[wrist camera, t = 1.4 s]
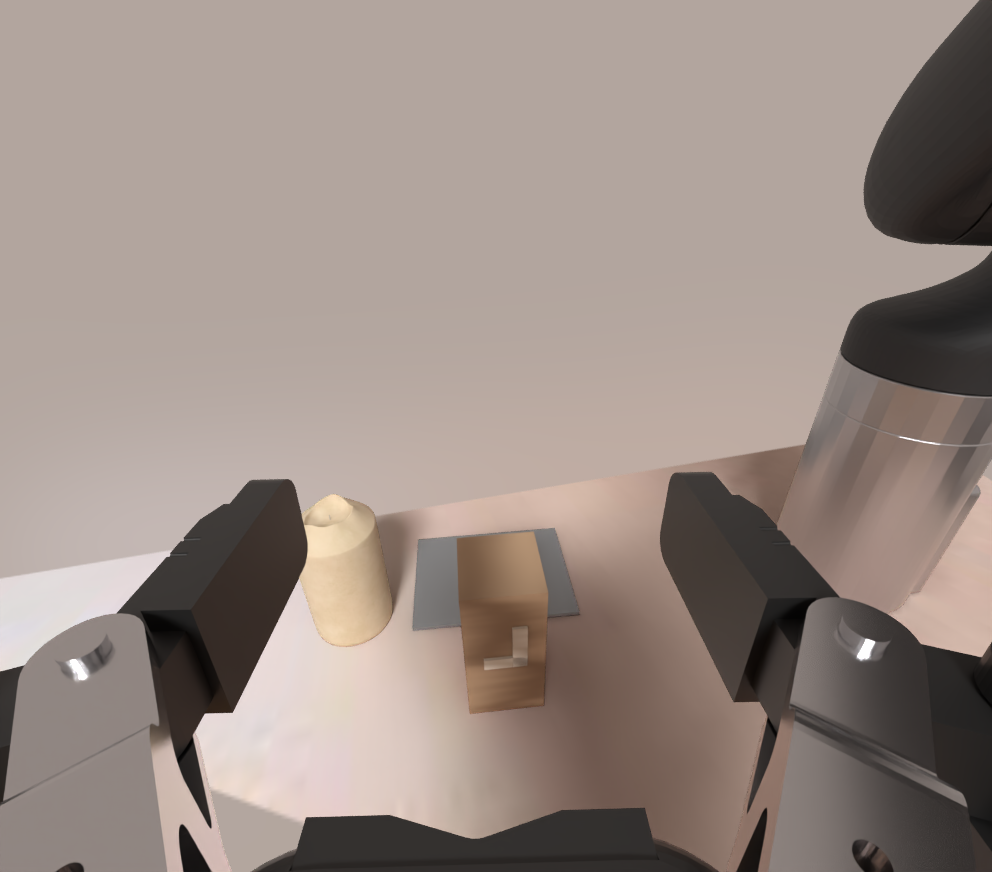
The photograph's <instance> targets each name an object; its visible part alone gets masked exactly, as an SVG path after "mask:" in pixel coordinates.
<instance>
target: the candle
mask: <svg viewBox="0 0 992 872" xmlns="http://www.w3.org/2000/svg"><path fill="white" fill-rule="evenodd" d="M302 519H303V523H304V527H305V531H306V536H307V542H308V552H307V559H306V564H305V567H304V569H303V571H302V573H301V575H300V577H299V579H300V582H301V585H302V587H303V590H304V593H305V596H306V599H307V602H308V605H309V608H310V611H311V614H312V617H313V620H314V623H315V626H316V628H317V631H318V633H319V634H320V636H321V637H322V638H323V639H324V640H325V641H326V642H328V643H330V644H332V645H335V646H340V647H349V646H355V645H359V644H362V643H364V642H367V641H369V640H370V639H372V638H374V637H375V636H376V635H378V634H379V633H380V632H381V631H382V630H383V629H384V628H385V626H386V625H387V623H388V622H389V620H390V617H391V614H392V598H391V592H390V588H389V583H388V578H387V573H386V568H385V563H384V558H383V553H382V548H381V543H380V538H379V533H378V528H377V523H376V519H375V515H374V512H373V511H372V510H371V509H370V508H369V507H368V506H366V505H365V504H362V503H360V502H357V501H354V500H350V499H347V498H343V497H341V496H339V495H335V494H332V495H329V496H327V497H325V498H323V499H321V500H320V501H319V502H317V503H316V504H315V505H313V506H312V507H310V508H309V509H307V510H306V511H305V512H303V513H302Z"/></svg>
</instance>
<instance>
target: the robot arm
mask: <svg viewBox="0 0 992 872" xmlns="http://www.w3.org/2000/svg"><path fill="white" fill-rule="evenodd" d="M864 205H865V209H866V212H867V216H868V218H869V219H870V221H871V222H872V224H873V225H874V227H875V228H876V229H878V230H879V231H881V232H882V233H883V234H885V235H887V236H890V237H893V238H897V239H901V240H904V241H908V242H914V243H921V244H946V245H977V246H992V0H979V2H978V3H977V4H976V5H975V6H974V7H973V8H972V9H971V10H970V12H969V13H968V14H967V15H966V16H965V17H964V18H963V20H962V21H961V22H960V23H959V24H958V25H957V27H956V28H955V29H954V30H953V31H952V33H951V34H950V35H949V36H948V37H947V38H946V39H945V41H944V42H943V43H942V44H941V45H940V47H939V48H938V49H937V50H936V51H935V53H934V54H933V55H932V56H931V57H930V59H929V60H928V61H927V62H926V63H925V65H924V66H923V67H922V69H921V70H920V71H919V73H918V74H917V75H916V77H915V78H914V80H913V81H912V83H911V84H910V86H909V87H908V88H907V90H906V91H905V93H904V94H903V96H902V97H901V99H900V101H899V102H898V104H897V105H896V107H895V109H894V111H893V112H892V114H891V116H890V117H889V119H888V121H887V122H886V124H885V127H884V128H883V130H882V132H881V135H880V137H879V139H878V141H877V143H876V146H875V148H874V151H873V153H872V156H871V159H870V162H869V165H868V168H867V172H866V176H865V182H864ZM991 460H992V251H991V253H990V254H989V255H988V256H987V257H986V258H985V260H983V261H982V262H981V263H980V264H979V265H978V266H976V267H975V268H973V269H971V270H969V271H968V272H966V273H964V274H962V275H959V276H957V277H955V278H953V279H951V280H948V281H946V282H943V283H941V284H938V285H935V286H932V287H929V288H926V289H922V290H919V291H915V292H911V293H907V294H902V295H898V296H894V297H890V298H885V299H881V300H878V301H875V302H872V303H870V304H867V305H866V306H864V307H862V308H861V309H860V310H859V311H857V313H856V314H855V315H854V316H853V318H852V320H851V321H850V324H849V326H848V328H847V331H846V334H845V336H844V339H843V342H842V345H841V348H840V350H839V353H838V356H837V358H836V361H835V364H834V367H833V369H832V373H831V375H830V378H829V381H828V384H827V386H826V389H825V392H824V395H823V398H822V401H821V403H820V406H819V409H818V412H817V414H816V417H815V420H814V423H813V426H812V428H811V431H810V434H809V437H808V439H807V442H806V445H805V448H804V450H803V453H802V456H801V459H800V462H799V464H798V467H797V470H796V473H795V475H794V478H793V481H792V484H791V486H790V489H789V492H788V495H787V498H786V500H785V503H784V506H783V508H782V511H781V514H780V517H779V520H778V523H777V526H776V524H775V523H774V522H773V521H772V520H771V519H770V518H769V517H768V515H767V514H766V513H765V512H764V511H763V510H762V509H761V508H759V507H757V506H756V505H754V504H753V503H751V502H749V501H748V500H746V499H745V498H743V497H742V496H740V495H732V494H731V493H730V492H729V491H728V490H727V488H726V487H725V486H724V485H723V484H722V482H721V481H720V480H719V479H718V478H717V476H716V475H715V474H714V473H712V472H687V473H674V474H673V475H672V477H671V479H670V482H669V487H668V493H667V498H666V504H665V509H664V515H663V521H662V526H661V532H660V545H661V552H662V556H663V559H664V562H665V564H666V566H667V568H668V570H669V572H670V574H671V576H672V578H673V580H674V582H675V584H676V586H677V588H678V590H679V592H680V594H681V596H682V598H683V600H684V602H685V604H686V606H687V608H688V611H689V613H690V615H691V617H692V619H693V621H694V623H695V625H696V627H697V629H698V631H699V633H700V635H701V637H702V639H703V641H704V643H705V645H706V647H707V649H708V651H709V653H710V655H711V657H712V659H713V661H714V663H715V665H716V667H717V669H718V671H719V673H720V675H721V677H722V680H723V682H724V684H725V686H726V688H727V690H728V692H729V694H730V696H731V698H732V700H733V702H760V703H761V705H762V707H763V708H764V710H765V712H766V714H767V716H766V719H765V721H764V724H763V727H762V731H761V735H760V739H759V744H758V748H757V752H756V757H755V761H754V765H753V770H752V774H751V778H750V783H749V787H748V791H747V796H746V800H745V804H744V809H743V813H742V817H741V822H740V826H739V830H738V833H737V837H736V840H735V844H734V847H733V850H732V853H731V856H730V859H729V863H728V866H727V869H726V872H992V643H991V644H990V646H989V647H988V649H987V650H986V652H985V653H984V655H983V656H982V657H977V656H973V655H968V654H963V653H959V652H954V651H950V650H945V649H941V648H936V647H931V646H927V645H922V644H920V643H919V641H918V640H917V638H916V637H915V636H914V635H913V634H912V633H911V632H910V631H909V630H908V629H907V628H906V627H905V626H903V625H902V624H901V623H900V622H898V621H897V620H895V619H894V618H892V617H891V616H889V615H888V614H886V613H889V612H892V611H895V610H897V609H898V608H899V607H901V606H902V605H903V604H904V603H905V601H906V599H907V598H908V596H909V594H910V593H916V592H920V591H921V589H922V588H923V586H924V585H925V583H926V581H927V580H928V578H929V577H930V575H931V573H932V572H933V570H934V568H935V567H936V565H937V564H938V562H939V560H940V559H941V557H942V556H943V554H944V552H945V551H946V549H947V548H948V546H949V544H950V543H951V541H952V539H953V538H954V536H955V535H956V533H957V531H958V530H959V528H960V527H961V525H962V523H963V522H964V520H965V519H966V517H967V515H968V514H969V512H970V510H971V509H972V507H973V506H974V504H975V502H976V501H977V499H978V498H979V496H980V493H981V492H980V488H979V487H978V486H977V485H976V484H977V483H978V481H979V480H980V478H981V476H982V475H983V473H984V471H985V469H986V468H987V466H988V465H989V463H990V461H991ZM307 552H308V542H307V536H306V531H305V527H304V523H303V519H302V514H301V510H300V506H299V502H298V498H297V493H296V489H295V486H294V484H293V483H292V481H290V480H289V479H274V480H251V481H249V482H248V483H247V484H246V485H245V486H244V487H243V489H242V490H241V491H240V492H239V493H238V495H237V496H236V497H235V498H234V499H233V501H232V502H231V503H230V504H223V505H222V506H220V507H219V508H217V509H216V510H214V511H213V512H211V513H210V514H208V515H206V516H205V517H203V518H202V519H200V520H199V521H198V523H197V524H196V525H195V526H194V527H193V528H192V529H191V530H190V531H189V533H188V534H187V535H186V536H185V537H184V541H181V542H180V543H179V544H178V545H177V546H176V547H175V548H174V549H173V551H172V552H171V553H170V557H166V558H165V560H164V561H163V562H162V563H161V564H160V565H159V566H158V567H157V569H156V570H155V571H154V572H153V573H152V574H151V575H150V576H149V577H148V579H147V580H146V581H145V582H144V583H143V584H142V585H141V586H140V588H139V589H138V590H137V591H136V592H135V593H134V594H133V595H132V597H131V598H130V599H129V600H128V601H127V602H126V603H125V604H124V606H123V607H122V608H121V609H120V610H119V611H118V612H117V613H116V614H109V615H104V616H100V617H96V618H93V619H90V620H87V621H84V622H82V623H80V624H78V625H75V626H73V627H71V628H69V629H68V630H66V631H64V632H62V633H61V634H59V635H57V636H56V637H54V638H53V639H51V640H50V641H49V642H47V643H46V644H45V645H44V646H42V647H41V648H40V649H39V650H38V651H37V652H36V653H35V654H34V655H33V656H32V657H31V658H30V659H29V660H28V662H27V663H26V664H25V665H24V666H20V667H16V668H13V669H9V670H5V671H1V672H0V872H232V870H231V868H230V865H229V863H228V860H227V857H226V854H225V851H224V848H223V844H222V840H221V836H220V833H219V828H218V823H217V819H216V814H215V810H214V806H213V801H212V797H211V792H210V788H209V783H208V779H207V774H206V770H205V766H204V761H203V757H202V752H201V748H200V743H199V740H198V737H197V735H196V733H195V730H196V729H197V727H198V725H199V723H200V721H201V719H202V718H203V716H204V714H205V713H233V711H234V709H235V707H236V705H237V703H238V701H239V699H240V697H241V695H242V693H243V691H244V689H245V687H246V685H247V683H248V681H249V679H250V677H251V675H252V673H253V671H254V669H255V667H256V664H257V662H258V660H259V658H260V656H261V654H262V652H263V650H264V648H265V646H266V644H267V642H268V640H269V638H270V636H271V634H272V632H273V630H274V628H275V626H276V624H277V622H278V620H279V618H280V616H281V614H282V612H283V610H284V608H285V606H286V604H287V602H288V599H289V597H290V595H291V593H292V591H293V589H294V587H295V585H296V583H297V581H298V579H299V577H300V575H301V573H302V571H303V569H304V567H305V564H306V559H307ZM252 872H719V871H718V870H716V869H715V868H713V867H712V866H711V865H709V864H708V863H706V862H705V861H703V860H701V859H699V858H698V857H696V856H694V855H692V854H691V853H689V852H687V851H685V850H683V849H681V848H678V847H676V846H674V845H672V844H669V843H667V842H665V841H662V840H658V839H655V838H652V834H651V831H650V827H649V823H648V819H647V815H646V811H645V808H626V809H590V810H561V811H559V812H556V813H553V814H550V815H547V816H544V817H541V818H539V819H536V820H533V821H530V822H527V823H524V824H521V825H519V826H516V827H513V828H510V829H507V830H504V831H502V832H499V833H496V834H493V835H490V836H487V837H484V838H480V839H470V838H465V837H462V836H459V835H455V834H452V833H448V832H445V831H442V830H438V829H435V828H432V827H428V826H425V825H421V824H418V823H415V822H411V821H408V820H405V819H401V818H398V817H394V816H391V815H377V816H341V817H306V820H305V823H304V826H303V830H302V833H301V837H300V840H299V844H298V847H297V849H295V850H292V851H290V852H287V853H285V854H283V855H281V856H279V857H277V858H274V859H272V860H270V861H268V862H266V863H264V864H263V865H261V866H259V867H258V868H256V869H254V870H253V871H252Z"/></svg>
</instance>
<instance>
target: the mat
mask: <svg viewBox="0 0 992 872" xmlns="http://www.w3.org/2000/svg"><path fill="white" fill-rule="evenodd" d="M523 532H534V534H535V538H536V543H537V547H538V551H539V555H540V559H541V564H542V568H543V572H544V576H545V580H546V585H547V589H548V614H547V618H548V617H558V616H568V615H579V608H578V605H577V602H576V598H575V595H574V592H573V588H572V585H571V582H570V578H569V575H568V571H567V568H566V565H565V561H564V558H563V555H562V551H561V548H560V544H559V541H558V538H557V534H556V531H555V528H549V529H537V530H526V531H514V532H502V533H490V534H478V535H467V536H455V537H443V538H431V539H419V540H418V552H417V568H416V583H415V598H414V613H413V631H415V630H425V629H435V628H445V627H456V626H461V619H460V609H459V596H458V566H457V538H465V537H476V536H488V535H499V534H511V533H523Z"/></svg>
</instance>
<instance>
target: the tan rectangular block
mask: <svg viewBox="0 0 992 872" xmlns="http://www.w3.org/2000/svg"><path fill="white" fill-rule="evenodd" d="M457 566H458V596H459V609H460V619H461V629H462V639H463V649H464V659H465V669H466V680H467V690H468V700H469V710H470V714H473V713H482V712H491V711H500V710H509V709H518V708H527V707H536V706H544V686H545V662H546V638H547V614H548V589H547V585H546V580H545V576H544V572H543V568H542V564H541V559H540V555H539V551H538V547H537V543H536V538H535V534H534V532H523V533H511V534H499V535H488V536H476V537H465V538H457Z"/></svg>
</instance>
